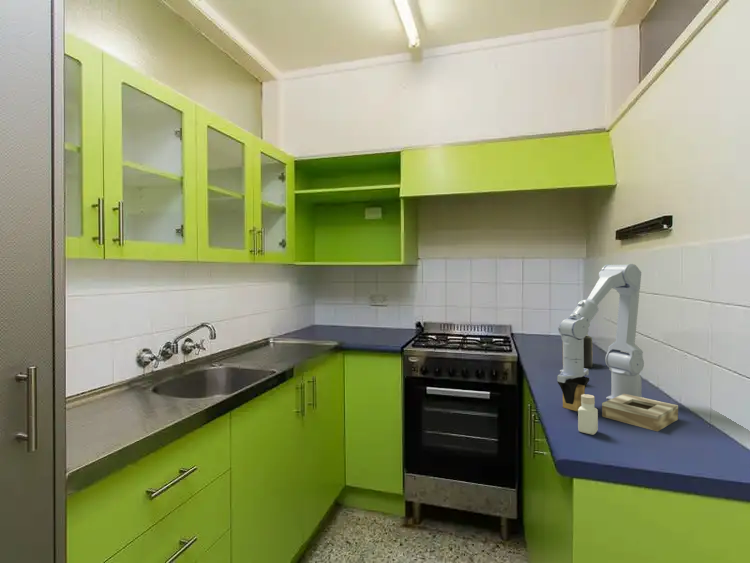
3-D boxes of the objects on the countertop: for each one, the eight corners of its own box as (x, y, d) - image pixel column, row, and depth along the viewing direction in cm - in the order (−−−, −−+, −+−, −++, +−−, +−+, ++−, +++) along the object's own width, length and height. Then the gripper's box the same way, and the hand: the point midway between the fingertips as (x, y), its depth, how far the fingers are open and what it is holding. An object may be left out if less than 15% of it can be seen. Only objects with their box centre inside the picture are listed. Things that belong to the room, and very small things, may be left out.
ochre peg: (570, 404, 129) (570, 382, 129) (584, 408, 125) (584, 385, 125) (562, 407, 126) (562, 385, 126) (577, 411, 123) (576, 388, 122)
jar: (585, 370, 171) (584, 334, 171) (557, 365, 180) (557, 331, 180) (597, 365, 179) (596, 331, 178) (570, 361, 188) (570, 329, 187)
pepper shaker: (598, 431, 107) (598, 395, 107) (594, 436, 104) (594, 399, 104) (581, 427, 110) (581, 392, 110) (577, 432, 107) (577, 396, 107)
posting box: (624, 406, 126) (624, 393, 126) (678, 419, 115) (678, 405, 114) (602, 416, 118) (602, 402, 118) (657, 431, 106) (657, 416, 106)
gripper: (573, 352, 133) (573, 394, 133) (547, 359, 124) (548, 403, 125) (595, 356, 127) (595, 399, 127) (570, 363, 119) (570, 409, 119)
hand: (573, 401), depth 126 cm, fingers closed on ochre peg, 4 cm apart
